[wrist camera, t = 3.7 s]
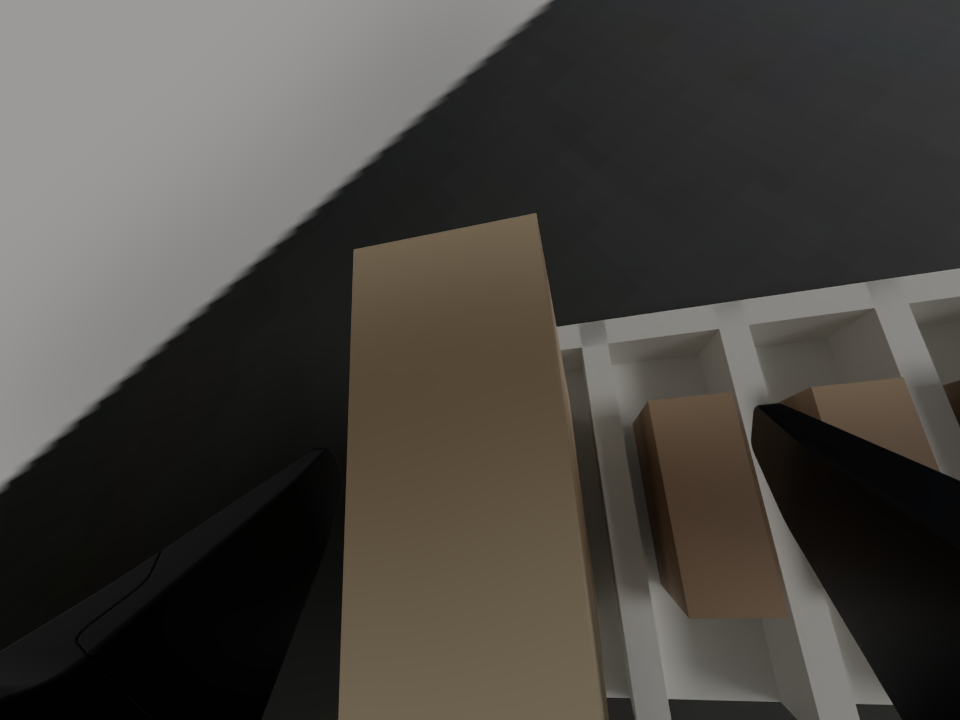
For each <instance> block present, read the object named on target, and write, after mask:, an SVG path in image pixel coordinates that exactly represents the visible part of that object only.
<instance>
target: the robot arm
mask: <svg viewBox="0 0 960 720" xmlns="http://www.w3.org/2000/svg"><path fill="white" fill-rule="evenodd" d="M751 446H752V449H753V452H754V455H755V457H756V459H757V461H758V464H759V466H760V468H761V470H762V472H763V475H764V477H765V479H766V481H767V484H768V486H769V488H770V490H771V493H772V495H773V497H774V499H775V502H776V504H777V506H778V508H779V511H780V513H781V515H782V517H783V519H784V521H785V523H786V525H787V526H788V528H789V530H790V532H791V534H792V535H793V537H794V539H795V540H796V542H797V544H798V545H799V547H800V549H801V550H802V552H803V554H804V556H805V557H806V559H807V561H808V562H809V564H810V566H811V567H812V569H813V571H814V572H815V574H816V576H817V577H818V579H819V581H820V582H821V584H822V586H823V588H824V589H825V591H826V593H827V594H828V596H829V598H830V599H831V601H832V603H833V604H834V606H835V608H836V609H837V611H838V613H839V614H840V616H841V618H842V619H843V621H844V623H845V625H846V626H847V628H848V630H849V631H850V633H851V635H852V636H853V638H854V640H855V641H856V643H857V645H858V646H859V648H860V650H861V651H862V653H863V655H864V657H865V658H866V660H867V662H868V663H869V665H870V667H871V668H872V670H873V672H874V673H875V675H876V677H877V678H878V680H879V682H880V683H881V685H882V687H883V688H884V690H885V692H886V694H887V695H888V697H889V699H890V700H891V702H892V704H893V705H894V707H895V709H896V710H897V712H898V714H899V715H900V717H901V719H902V720H960V480H957V479H955V478H953V477H951V476H948V475H946V474H944V473H941V472H939V471H937V470H934V469H932V468H930V467H927V466H925V465H923V464H920V463H918V462H916V461H914V460H911V459H909V458H907V457H904V456H902V455H900V454H897V453H895V452H893V451H890V450H888V449H886V448H883V447H881V446H879V445H876V444H874V443H872V442H870V441H867V440H865V439H863V438H860V437H858V436H856V435H853V434H851V433H849V432H846V431H844V430H842V429H839V428H837V427H835V426H833V425H830V424H828V423H826V422H823V421H821V420H819V419H816V418H814V417H812V416H809V415H807V414H805V413H802V412H800V411H798V410H796V409H793V408H791V407H789V406H786V405H784V404H781V403H770V404H761V405H757V406H756V407H755V408H754V411H753V419H752V431H751ZM344 483H345V478H344V474H343V471H342V469H341V467H340V465H339V462H338V460H337V458H336V456H335V454H334V452H333V451H332V450H331V449H329V448H322V449H314V450H312V451H310V452H308V453H307V454H305V455H304V456H302V457H301V458H299V459H298V460H296V461H295V462H293V463H292V464H290V465H289V466H287V467H286V468H284V469H283V470H281V471H280V472H278V473H277V474H275V475H274V476H272V477H271V478H269V479H268V480H266V481H265V482H263V483H262V484H260V485H259V486H257V487H256V488H254V489H253V490H251V491H250V492H248V493H247V494H245V495H244V496H242V497H241V498H239V499H238V500H236V501H235V502H233V503H232V504H230V505H229V506H227V507H226V508H224V509H223V510H221V511H220V512H218V513H217V514H215V515H214V516H212V517H211V518H209V519H208V520H206V521H205V522H203V523H202V524H200V525H199V526H197V527H196V528H194V529H193V530H191V531H190V532H188V533H187V534H185V535H184V536H182V537H181V538H179V539H178V540H176V541H175V542H173V543H172V544H170V545H169V546H167V547H166V548H164V549H163V550H162V552H158V553H157V554H155V555H154V556H152V557H151V558H149V559H148V560H146V561H145V562H143V563H142V564H140V565H139V566H137V567H136V568H134V569H133V570H131V571H129V572H128V573H126V574H125V575H123V576H122V577H120V578H119V579H117V580H116V581H114V582H113V583H111V584H109V585H108V586H106V587H105V588H103V589H101V590H100V591H98V592H97V593H95V594H93V595H92V596H90V597H89V598H87V599H85V600H84V601H82V602H81V603H79V604H77V605H76V606H74V607H72V608H71V609H69V610H67V611H66V612H64V613H63V614H61V615H59V616H58V617H56V618H54V619H53V620H51V621H49V622H48V623H46V624H45V625H43V626H41V627H40V628H38V629H36V630H35V631H33V632H31V633H30V634H28V635H26V636H25V637H23V638H22V639H20V640H18V641H17V642H15V643H13V644H12V645H10V646H8V647H7V648H5V649H4V650H2V651H0V720H261V719H262V716H263V713H264V711H265V708H266V706H267V703H268V700H269V698H270V695H271V693H272V690H273V687H274V685H275V682H276V679H277V677H278V674H279V672H280V669H281V666H282V664H283V661H284V659H285V656H286V653H287V651H288V648H289V645H290V643H291V640H292V638H293V635H294V632H295V630H296V627H297V625H298V622H299V619H300V617H301V614H302V611H303V609H304V606H305V604H306V601H307V598H308V596H309V593H310V591H311V588H312V585H313V583H314V580H315V577H316V575H317V572H318V570H319V567H320V564H321V562H322V559H323V557H324V554H325V551H326V548H327V545H328V542H329V539H330V536H331V532H332V528H333V525H334V521H335V517H336V514H337V510H338V506H339V503H340V499H341V495H342V492H343V488H344Z"/></svg>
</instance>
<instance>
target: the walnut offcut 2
mask: <svg viewBox="0 0 960 720" xmlns="http://www.w3.org/2000/svg"><path fill="white" fill-rule="evenodd" d="M778 403H781V404H784V405H786V406H789V407H791V408H793V409H796V410H798V411H800V412H802V413H805V414H807V415H809V416H812V417H814V418H816V419H819V420H821V421H823V422H826V423H828V424H830V425H833V426H835V427H837V428H839V429H842V430H844V431H846V432H849V433H851V434H853V435H856V436H858V437H860V438H863V439H865V440H867V441H870V442H872V443H874V444H876V445H879V446H881V447H883V448H886V449H888V450H890V451H893V452H895V453H897V454H900V455H902V456H904V457H907V458H909V459H911V460H914V461H916V462H918V463H920V464H923V465H925V466H927V467H930V468H932V469H934V470H937V471H939V472H940V470H939V468H938V465H937V463H936V460H935V458H934V455H933V452H932V450H931V447H930V445H929V442H928V439H927V437H926V434H925V432H924V429H923V427H922V424H921V421H920V419H919V416H918V414H917V411H916V408H915V406H914V403H913V401H912V398H911V396H910V393H909V390H908V388H907V385H906V383H905V380H904V377H902V378H892V379H882V380H873V381H863V382H854V383H844V384H835V385H825V386H816V387H810V388H808V389H806V390H804V391H802V392H799V393H797V394H795V395H793V396H791V397H789V398H787V399H785V400H783V401H780V402H778ZM822 587H823V586H822Z"/></svg>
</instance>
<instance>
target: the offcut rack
mask: <svg viewBox="0 0 960 720" xmlns="http://www.w3.org/2000/svg"><path fill="white" fill-rule="evenodd" d="M556 328H557V333H558V339H559V344H560V350H561V356H562V361H563V367H564V372H565V378H566V384H567V389H568V395H569V400H570V406H571V412H572V418H573V425H574V433H575V440H576V448H577V456H578V463H579V471H580V478H581V486H582V493H583V501H584V508H585V516H586V524H587V531H588V539H589V546H590V554H591V561H592V569H593V576H594V584H595V592H596V599H597V608H598V618H599V628H600V638H601V648H602V658H603V668H604V678H605V688H606V697H613V698H630V699H631V703H632V708H633V713H634V717H635V720H671V716H670V710H669V704H668V699H691V700H730V701H769V702H781V703H782V704H783V705H784V706H785V707H786V708H787V709H788V710H789V711H790V712H791V713H792V714H793V715H794V717H795V718H796V719H797V720H860V719H859V715H858V712H857V708H856V705H855V704H885V705H893V704H892V702H891V700H890V699H889V697H888V695H887V694H886V692H885V690H884V688H883V687H882V685H881V683H880V682H879V680H878V678H877V677H876V675H875V673H874V672H873V670H872V668H871V667H870V665H869V663H868V662H867V660H866V658H865V657H864V655H863V653H862V651H861V650H860V648H859V646H858V645H857V643H856V641H855V640H854V638H853V636H852V635H851V633H850V631H849V630H848V628H847V626H846V625H845V623H844V621H843V619H842V618H841V616H840V614H839V613H838V611H837V609H836V608H835V606H834V604H833V603H832V601H831V599H830V598H829V596H828V594H827V593H826V591H825V589H824V588H823V587H822V584H821V582H820V581H819V579H818V577H817V576H816V574H815V572H814V571H813V569H812V567H811V566H810V564H809V562H808V561H807V559H806V557H805V556H804V554H803V552H802V550H801V549H800V547H799V545H798V544H797V542H796V540H795V539H794V537H793V535H792V534H791V532H790V530H789V528H788V526H787V525H786V523H785V521H784V519H783V517H782V515H781V513H780V511H779V508H778V506H777V504H776V502H775V499H774V497H773V495H772V493H771V490H770V488H769V486H768V484H767V481H766V479H765V477H764V475H763V472H762V470H761V468H760V466H759V464H758V461H757V459H756V457H755V455H754V452H753V449H752V446H751V431H752V419H753V411H754V408H755V407H756V406H757V405H761V404H770V403H778V402H780V401H783V400H785V399H787V398H789V397H791V396H793V395H795V394H797V393H799V392H802V391H804V390H806V389H808V388H810V387H816V386H825V385H835V384H844V383H854V382H863V381H873V380H882V379H892V378H902V377H904V380H905V383H906V385H907V388H908V390H909V393H910V396H911V398H912V401H913V403H914V406H915V408H916V411H917V414H918V416H919V419H920V421H921V424H922V427H923V429H924V432H925V434H926V437H927V439H928V442H929V445H930V447H931V450H932V452H933V455H934V458H935V460H936V463H937V465H938V468H939V470H940V472H941V473H944V474H946V475H948V476H951V477H953V478H955V479H957V480H960V427H959V424H958V422H957V420H956V417H955V415H954V412H953V410H952V407H951V405H950V403H949V400H948V398H947V395H946V393H945V391H944V388H943V386H942V385H946V384H949V383H952V382H956V381H959V380H960V269H953V270H946V271H939V272H932V273H925V274H918V275H911V276H905V277H898V278H891V279H884V280H877V281H870V282H863V283H856V284H849V285H843V286H836V287H829V288H822V289H815V290H808V291H801V292H794V293H788V294H781V295H774V296H767V297H760V298H753V299H746V300H739V301H732V302H726V303H719V304H712V305H705V306H698V307H691V308H684V309H677V310H671V311H664V312H657V313H650V314H643V315H636V316H629V317H622V318H615V319H609V320H602V321H595V322H588V323H581V324H574V325H567V326H560V327H556ZM726 392H731V393H732V397H733V400H734V404H735V408H736V412H737V416H738V420H739V424H740V428H741V432H742V436H743V440H744V444H745V448H746V452H747V456H748V460H749V463H750V467H751V471H752V475H753V479H754V483H755V487H756V491H757V495H758V499H759V503H760V507H761V511H762V515H763V519H764V523H765V526H766V530H767V534H768V538H769V542H770V546H771V550H772V554H773V558H774V562H775V566H776V570H777V574H778V578H779V582H780V586H781V589H782V593H783V597H784V601H785V605H786V609H787V613H788V617H789V618H722V619H689V618H688V617H687V615H686V614H685V613H684V612H683V611H682V609H681V608H680V607H679V606H678V605H677V603H676V602H675V601H674V600H673V598H672V597H671V596H670V595H669V594H668V592H667V591H666V590H665V589H664V588H663V586H662V585H661V584H660V578H659V573H658V567H657V561H656V556H655V550H654V544H653V538H652V533H651V527H650V521H649V516H648V510H647V504H646V499H645V493H644V487H643V481H642V476H641V470H640V464H639V459H638V453H637V447H636V442H635V436H634V430H633V425H632V424H633V422H634V421H635V419H636V418H637V416H638V415H639V413H640V412H641V410H642V409H643V407H644V406H645V404H646V403H647V401H651V400H660V399H669V398H679V397H688V396H697V395H707V394H716V393H726Z"/></svg>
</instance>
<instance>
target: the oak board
mask: <svg viewBox="0 0 960 720" xmlns="http://www.w3.org/2000/svg"><path fill="white" fill-rule="evenodd" d="M338 720H609V718H608V708H607V698H606V688H605V678H604V668H603V658H602V648H601V638H600V628H599V618H598V608H597V599H596V592H595V584H594V576H593V569H592V561H591V554H590V546H589V539H588V531H587V524H586V516H585V508H584V501H583V493H582V486H581V478H580V471H579V463H578V456H577V448H576V440H575V433H574V425H573V418H572V412H571V406H570V400H569V395H568V389H567V384H566V378H565V372H564V367H563V361H562V356H561V350H560V344H559V339H558V333H557V328H556V322H555V316H554V311H553V305H552V300H551V294H550V288H549V283H548V277H547V272H546V266H545V260H544V255H543V249H542V244H541V238H540V232H539V227H538V221H537V216H536V213H535V214H530V215H525V216H520V217H515V218H510V219H505V220H500V221H495V222H490V223H485V224H480V225H475V226H470V227H465V228H460V229H455V230H450V231H445V232H440V233H435V234H430V235H425V236H420V237H415V238H410V239H405V240H400V241H395V242H390V243H385V244H380V245H375V246H370V247H365V248H360V249H355V250H354V258H353V289H352V320H351V350H350V381H349V412H348V442H347V473H346V504H345V534H344V565H343V595H342V626H341V657H340V687H339V718H338Z"/></svg>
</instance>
